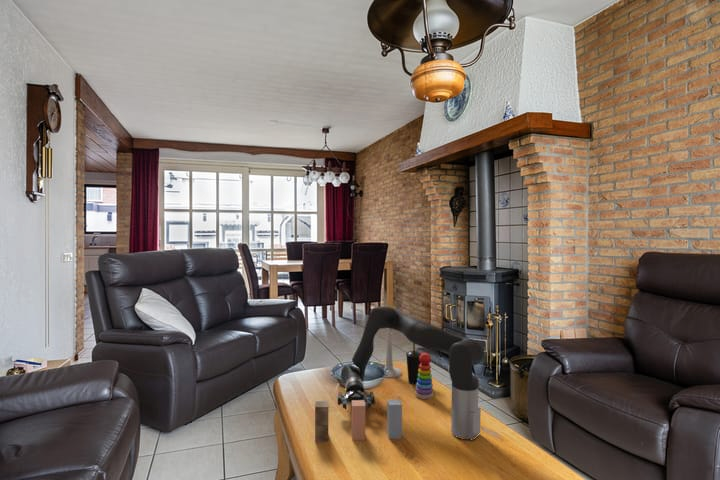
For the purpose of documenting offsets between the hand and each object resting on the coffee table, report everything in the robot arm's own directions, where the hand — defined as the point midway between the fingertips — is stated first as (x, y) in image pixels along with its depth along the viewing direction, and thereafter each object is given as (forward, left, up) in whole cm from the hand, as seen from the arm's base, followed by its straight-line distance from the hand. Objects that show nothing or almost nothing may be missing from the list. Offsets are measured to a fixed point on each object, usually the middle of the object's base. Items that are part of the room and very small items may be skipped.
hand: (357, 406), depth 151 cm
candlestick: (+23, -50, -7) cm, 56 cm away
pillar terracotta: (-6, +6, -7) cm, 11 cm away
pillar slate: (-15, -3, -7) cm, 17 cm away
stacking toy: (-5, -38, -7) cm, 39 cm away
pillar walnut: (+3, +15, -7) cm, 17 cm away
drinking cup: (+7, -48, -7) cm, 49 cm away
